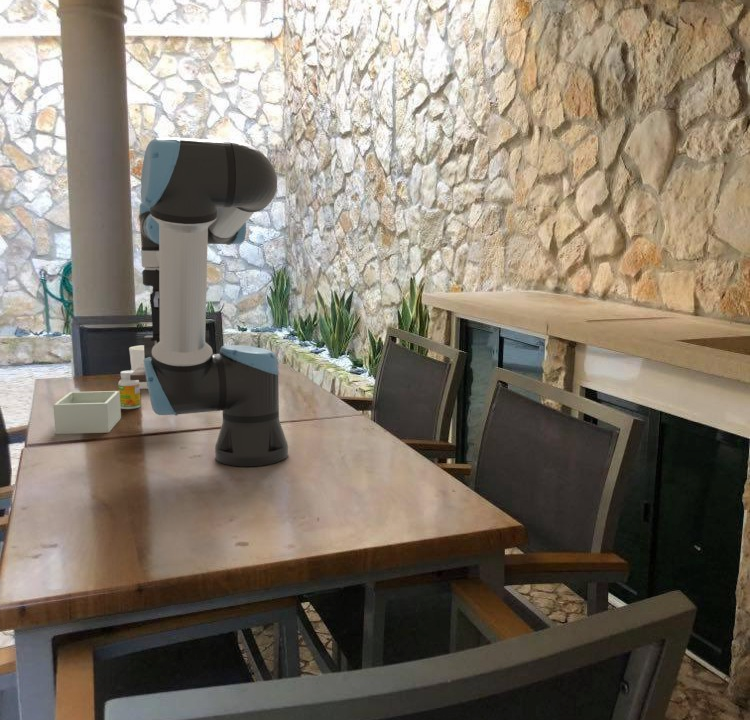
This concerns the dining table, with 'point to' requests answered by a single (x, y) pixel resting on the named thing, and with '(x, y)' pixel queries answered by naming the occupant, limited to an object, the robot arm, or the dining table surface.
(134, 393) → the supplement bottle
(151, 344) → the walnut lid
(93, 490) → the dining table surface
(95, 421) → the sage box
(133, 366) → the candle holder
